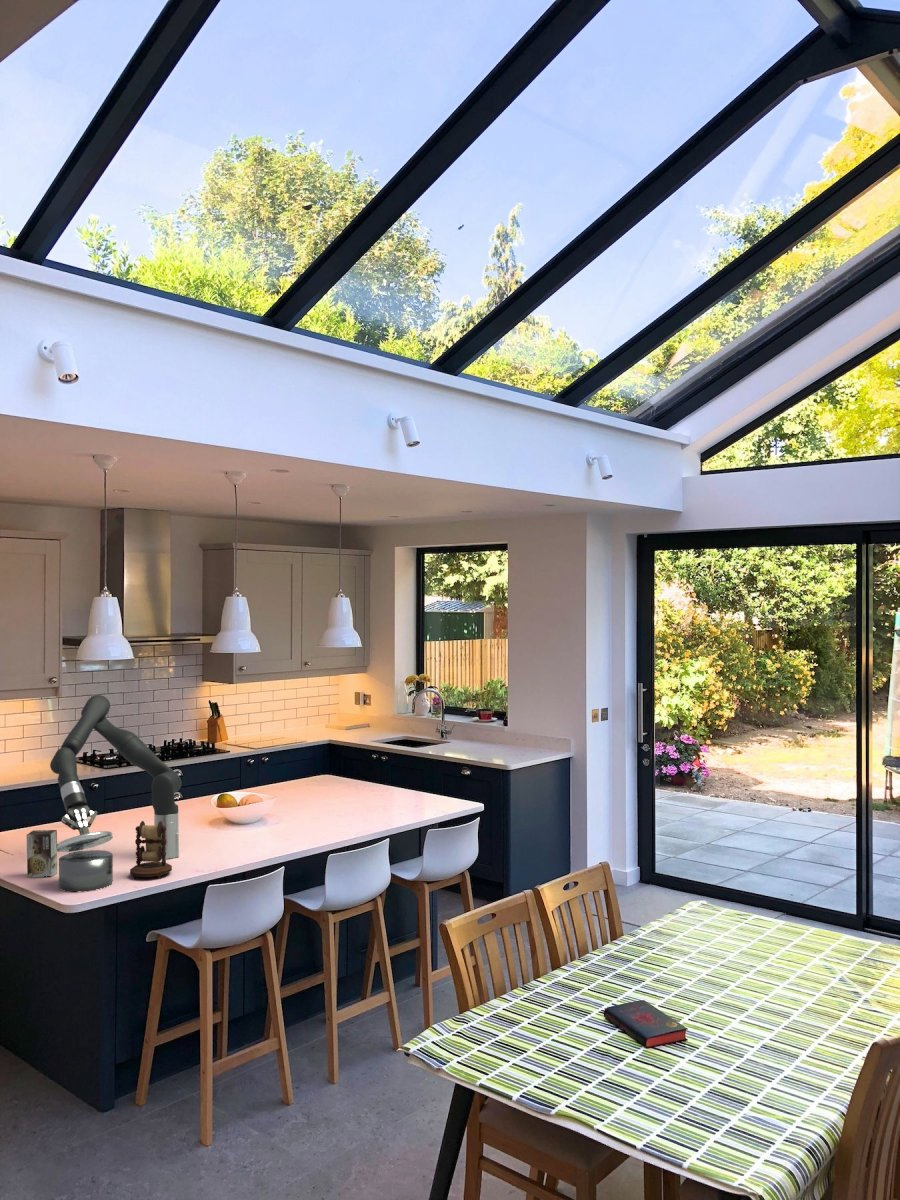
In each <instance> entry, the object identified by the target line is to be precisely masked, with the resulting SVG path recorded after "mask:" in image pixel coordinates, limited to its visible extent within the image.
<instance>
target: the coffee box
mask: <svg viewBox="0 0 900 1200" xmlns="http://www.w3.org/2000/svg"><path fill="white" fill-rule="evenodd" d="M57 832H58V831H57V829H46V830H45V829H41V830H40V829H39V830H37V829H36V830H32V831H30V832H29V833H27V834H26V858H27V859H26V860H27V861H26V869H27V873H26V874H27V875H26V876H27V877H32V878H48V877H47V876H52V877H53V876H55V875H56V874H58V851H57V849H56V845H57V844H58V833H57ZM44 876H46V877H44ZM27 877H26V878H27Z"/></svg>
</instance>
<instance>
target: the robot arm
mask: <svg viewBox="0 0 900 1200" xmlns="http://www.w3.org/2000/svg"><path fill="white" fill-rule="evenodd" d="M110 708H111V703H110V701H109V699H108V698H107V697H106V696H104V695H102V694H94V695H93V696H91V697H89V699H88V700H87V701H86V703H85V704H84V706H83V707H82V709H81V712H80V713H81V717H80V718H79V719H78V721H77V722H76V724H75V725H74V726H73V727H72V729H71V731H70V732H69V733H68V734H67V736H66V738H65V739H64V741H63V742H62V744H61V746H60V748H59V749H58V750H57V751H55V753H54V756H53V757H52V759H51V761H50V763H49V767H50V770H51V771H52V772H53V773H54V774H57V775H58V776H57V782H58V787H59V789H60V795H61V798H62V803H63V805H64V809H65V815H64V816H62V818H61V820H60V821H61V823H63V824H64V825H65V826H67V827H68V828H70V829H71V830H72V831H76V830H78V832H79V835H83V834H87V833H90V830H89V828H91V826H92V825H93V823H94V820H95V819H96V817H97V815H98V811H97V810H94V811H93V810H91V808H90V806H89V805H88V802H87V799H86V795H85V791H84V789H83V786H82V785H81V782H80V779H79V775H78V766H77V758H76V757H77V755H78V754H79V753H80V751H81V750H82V748H83V747H84V746H85V744H86V743H87V741H88V739H89V737H90V736H91V733H92V731H93V730H94V731H96V732H97V733H98V734H100V735H101V736H102V737H103V738H104V739H105V740H106V741H107V742H108V743H109V744H110V745H111V746H113V748H114V749H115V750H116V751H117V752H118V753H119V754H120V755H121V756H122V757H123V758H124V759H125V760H126V761H128V762H129V763H130V764H132V765H134V766H135V767H137V768H139V769H141V770H143V771H145V772H147V774H149V775H150V776H151V777H152V778H153V779H152V781H151V804H152V808H153V814H154V815H153V817H154V819H153V820H154V821H153V823H154V824H153V825H158V823H159V821H162V823H163V826H165V827H166V831H165V832H166V833H165V835H166V838H165V839H166V840H167V842H166V845H165V848H166V850H165V852H166V856H165V857H166V858H165V860H168V859H169V858H170V859H174V858H179V856H180V854H179V853H180V850H179V849H180V846H179V845H180V842H179V841H180V839H179V836H180V835H179V833H180V832H179V805H178V804H176V802H175V794H176V793H177V792H179V791H180V789H181V788H182V779H181V777H180V776H179V774H178V773H177V772H176V771H174V769H172V767H171V768H170V766H168V765H167V764H166V763H165V762H164V761H162V760H161V759H160V758H159V757H158V756H157V755H156V753H154V752H153V751H152V750H151V749H150V748H149V746H147V745H146V744H145V743H144V742H143V740H141V738H139V737H138V735H136V734H135V732H132V731H129V730H127V729H123V728H119V727H117V726H115V725H114V724H112V722H110V720H109V719H108V718H107V715H108V713H109V711H110ZM88 817H90V818H89V820H88V821H87V819H88ZM161 836H162V835H161ZM161 839H162V837H161ZM162 857H163V856H162ZM162 859H163V858H162ZM162 859H161V860H162Z"/></svg>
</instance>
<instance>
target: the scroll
mask: <svg viewBox="0 0 900 1200" xmlns="http://www.w3.org/2000/svg"><path fill="white" fill-rule="evenodd" d="M135 831H136V832H135V833H136V835H135V837H136V839H135V845H136V849H135V850H136V852H135V856H136V861H135V863H136V865H134V866H133V867H131V868H130V869H129V874H130V875H131V876H132V879H133V878H135V879H136V877H141V878H142V877H143V878H149V877H150V878H151V877H157V878H158V879H159V880H160V879H161V877H162V876H163V875H166V874H168V873H170V872H172V870H173V866H172V865H171V864H170V863H168V862H167V861H166V860H167V859H165V858H166V857H165V856H166V852H165V850H166V848H165V845H166V842H167V840H166V839H165V838H166V835H165V833H166V832H165V831H166V827H165V826H163V823H162V821H159V823H158V825H154V824H150V825H149V824H148V825H147V824H146V823H145V821H144V820H141V822H140V823H139V825H138V826H137V825H136V827H135ZM161 835H162V836H161ZM161 837H162V839H161ZM141 844H145V846H144V845H141ZM162 856H163V857H162ZM162 858H163V859H162Z"/></svg>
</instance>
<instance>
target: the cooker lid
mask: <svg viewBox="0 0 900 1200" xmlns="http://www.w3.org/2000/svg"><path fill="white" fill-rule="evenodd" d="M113 838H114V837H113V832H112V831H109V830H108V831H106V830H105V831H101V830H100V831H95V832H93V831H92V832H89V833H87V834H83V835H80V834H79V835H76V836H72V837H69V838H67V839H64V840H62V841H60V842H57V845H56V849H57V853H71V852H77V851H85V850H88V849H92V848H95V847H98V846H101V845H103V844H105V843H108V842H110V841H111V840H113Z"/></svg>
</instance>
